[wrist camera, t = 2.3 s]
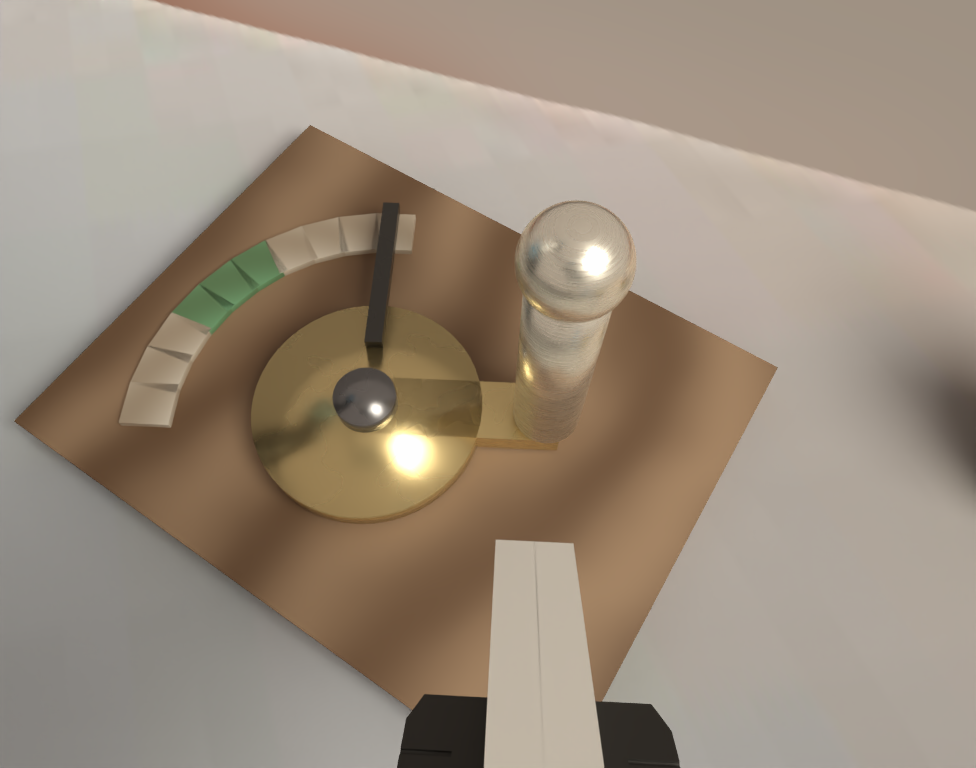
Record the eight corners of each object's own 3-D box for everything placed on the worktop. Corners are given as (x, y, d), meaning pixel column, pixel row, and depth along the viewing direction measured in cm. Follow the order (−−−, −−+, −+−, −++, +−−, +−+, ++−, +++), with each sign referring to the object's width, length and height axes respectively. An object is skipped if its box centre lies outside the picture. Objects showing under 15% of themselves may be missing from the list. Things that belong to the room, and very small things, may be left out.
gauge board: (34, 434, 31) (9, 418, 29) (316, 147, 38) (308, 120, 36) (542, 803, 25) (546, 808, 23) (765, 383, 32) (780, 364, 30)
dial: (200, 438, 29) (13, 248, 17) (391, 218, 33) (343, -45, 22) (468, 618, 26) (453, 532, 14) (636, 350, 30) (726, 125, 19)
